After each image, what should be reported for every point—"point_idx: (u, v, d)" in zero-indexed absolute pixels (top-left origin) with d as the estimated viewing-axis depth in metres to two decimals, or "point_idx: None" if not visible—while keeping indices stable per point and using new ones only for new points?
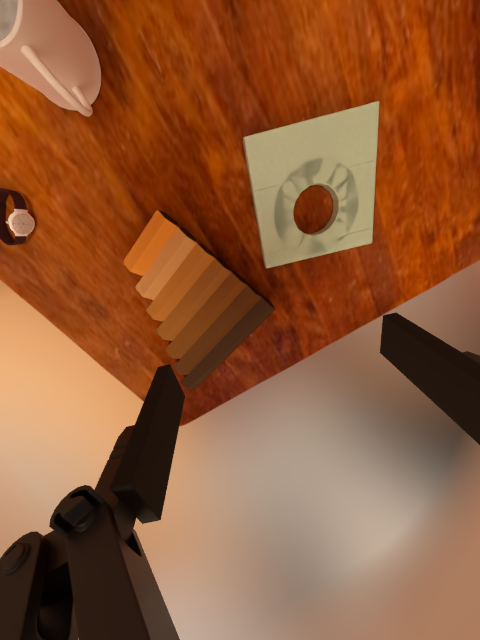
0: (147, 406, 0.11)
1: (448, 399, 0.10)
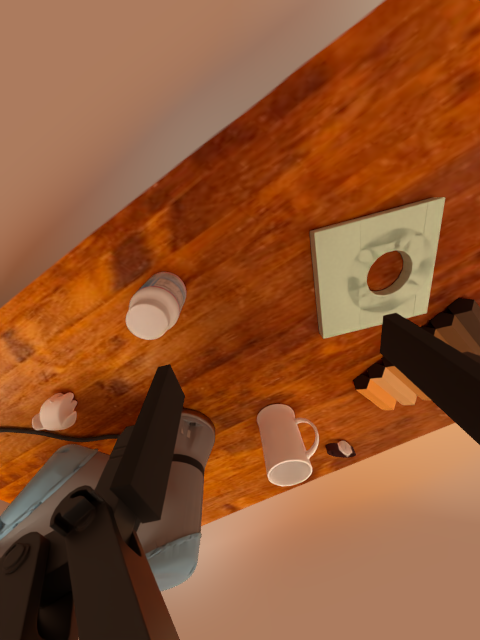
0: (147, 406, 0.11)
1: (448, 400, 0.10)
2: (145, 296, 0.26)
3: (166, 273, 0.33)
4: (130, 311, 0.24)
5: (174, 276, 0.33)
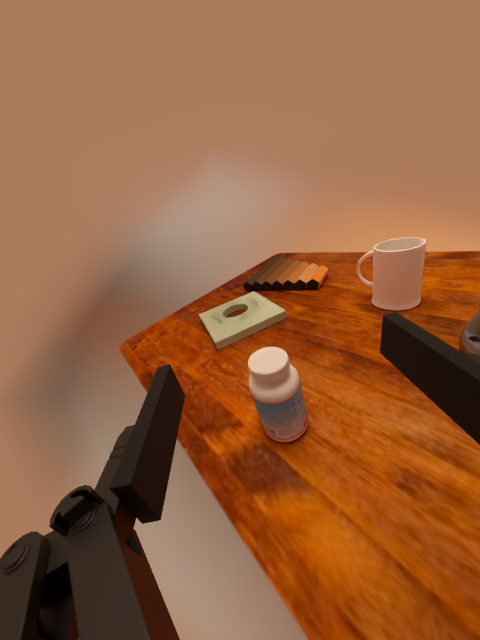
0: (147, 406, 0.11)
1: (448, 399, 0.10)
2: (253, 382, 0.26)
3: None
4: (257, 371, 0.24)
5: None
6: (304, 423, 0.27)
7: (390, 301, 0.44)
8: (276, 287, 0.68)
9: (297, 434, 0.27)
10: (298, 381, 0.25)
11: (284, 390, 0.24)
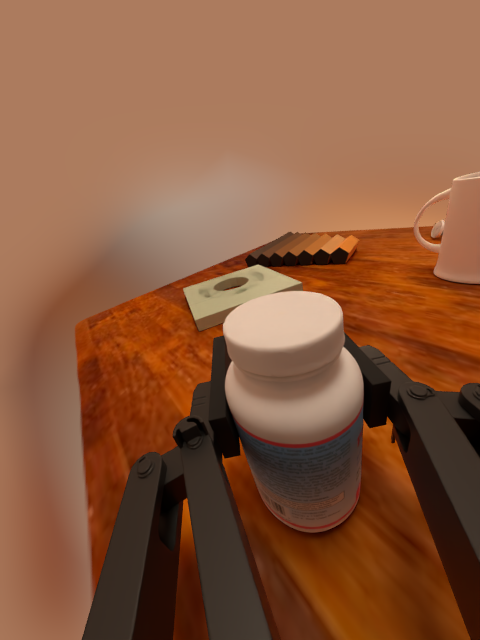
0: (217, 365, 0.12)
1: None
2: (234, 377, 0.10)
3: None
4: (247, 341, 0.07)
5: None
6: (357, 490, 0.11)
7: (475, 268, 0.27)
8: (288, 261, 0.51)
9: (339, 518, 0.11)
10: (362, 383, 0.09)
11: (327, 407, 0.08)
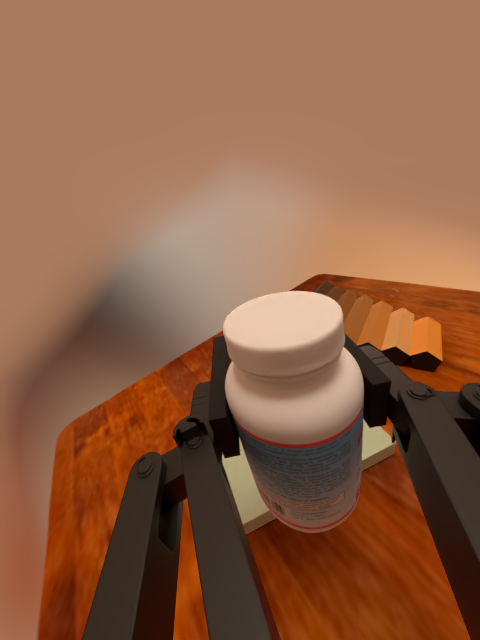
0: (216, 365, 0.12)
1: None
2: (235, 377, 0.09)
3: None
4: (247, 341, 0.07)
5: None
6: (357, 490, 0.11)
7: None
8: None
9: (339, 518, 0.11)
10: (362, 384, 0.09)
11: (327, 408, 0.08)
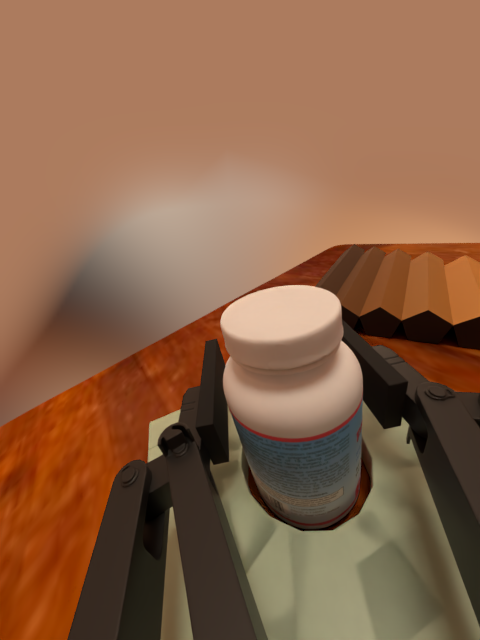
0: (207, 370, 0.12)
1: None
2: (232, 371, 0.09)
3: None
4: (244, 334, 0.07)
5: None
6: (357, 486, 0.11)
7: None
8: (417, 331, 0.21)
9: (339, 515, 0.11)
10: (361, 378, 0.09)
11: (325, 401, 0.07)
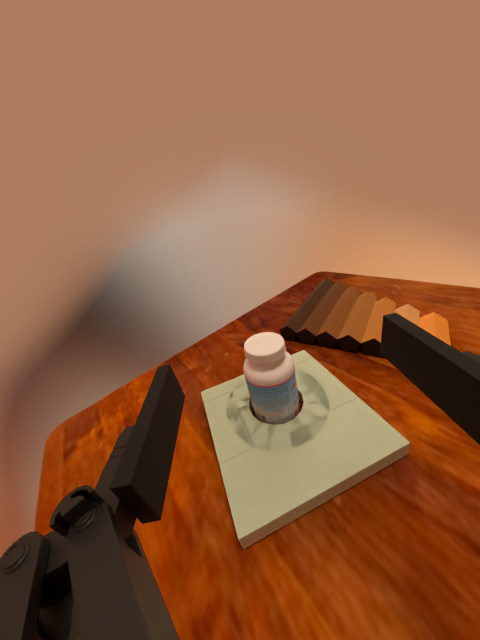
0: (147, 406, 0.11)
1: (448, 400, 0.10)
2: (247, 365, 0.26)
3: None
4: (252, 352, 0.24)
5: None
6: (295, 411, 0.27)
7: None
8: (345, 345, 0.37)
9: (287, 421, 0.27)
10: (292, 367, 0.25)
11: (278, 374, 0.24)
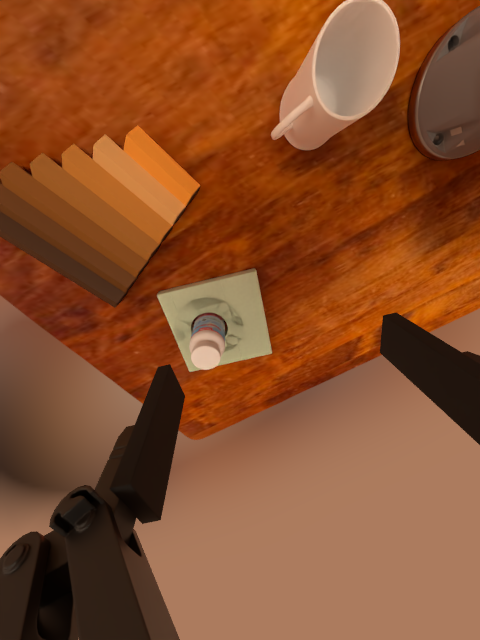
0: (147, 406, 0.11)
1: (448, 399, 0.10)
2: None
3: None
4: (215, 365, 0.35)
5: None
6: (220, 318, 0.42)
7: None
8: (153, 253, 0.37)
9: (224, 323, 0.43)
10: (215, 333, 0.36)
11: (222, 345, 0.37)
